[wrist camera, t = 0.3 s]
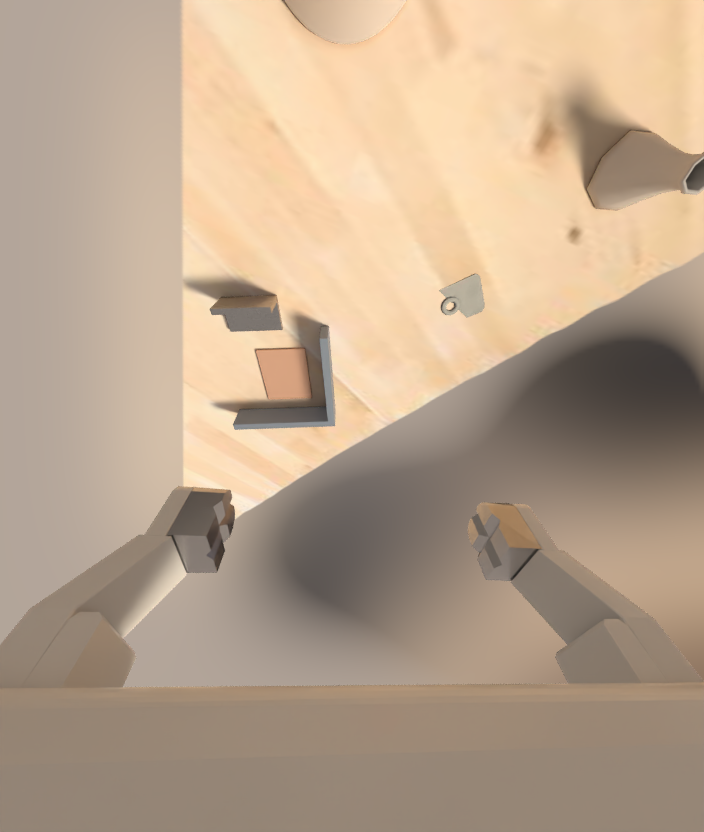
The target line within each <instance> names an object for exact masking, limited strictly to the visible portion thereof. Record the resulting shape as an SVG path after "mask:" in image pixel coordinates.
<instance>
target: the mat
mask: <svg viewBox="0 0 704 832" xmlns="http://www.w3.org/2000/svg"><path fill="white" fill-rule="evenodd" d="M256 353H257V357H258V360H259V364H260V368H261V372H262V375H263V379H264V383H265V387H266V390H267V394H268V398H269V399H293V398H312V394H311V387H310V380H309V373H308V366H307V359H306V352H305V348H293V349H263V350H256Z"/></svg>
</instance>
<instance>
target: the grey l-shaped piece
mask: <svg viewBox="0 0 704 832" xmlns="http://www.w3.org/2000/svg"><path fill="white" fill-rule="evenodd" d="M319 340H320V349H321V359H322V369H323V378H324V388H325V398H326V406H325V407H296V408H267V409H240V410H239V412H238V414H237V417H236V419H235V421H234V424H233V426H234V429H235V430H238V429H266V428H295V427H323V426H335V400H334V387H333V374H332V361H331V349H330V336H329V326H321V331H320V338H319Z"/></svg>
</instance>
